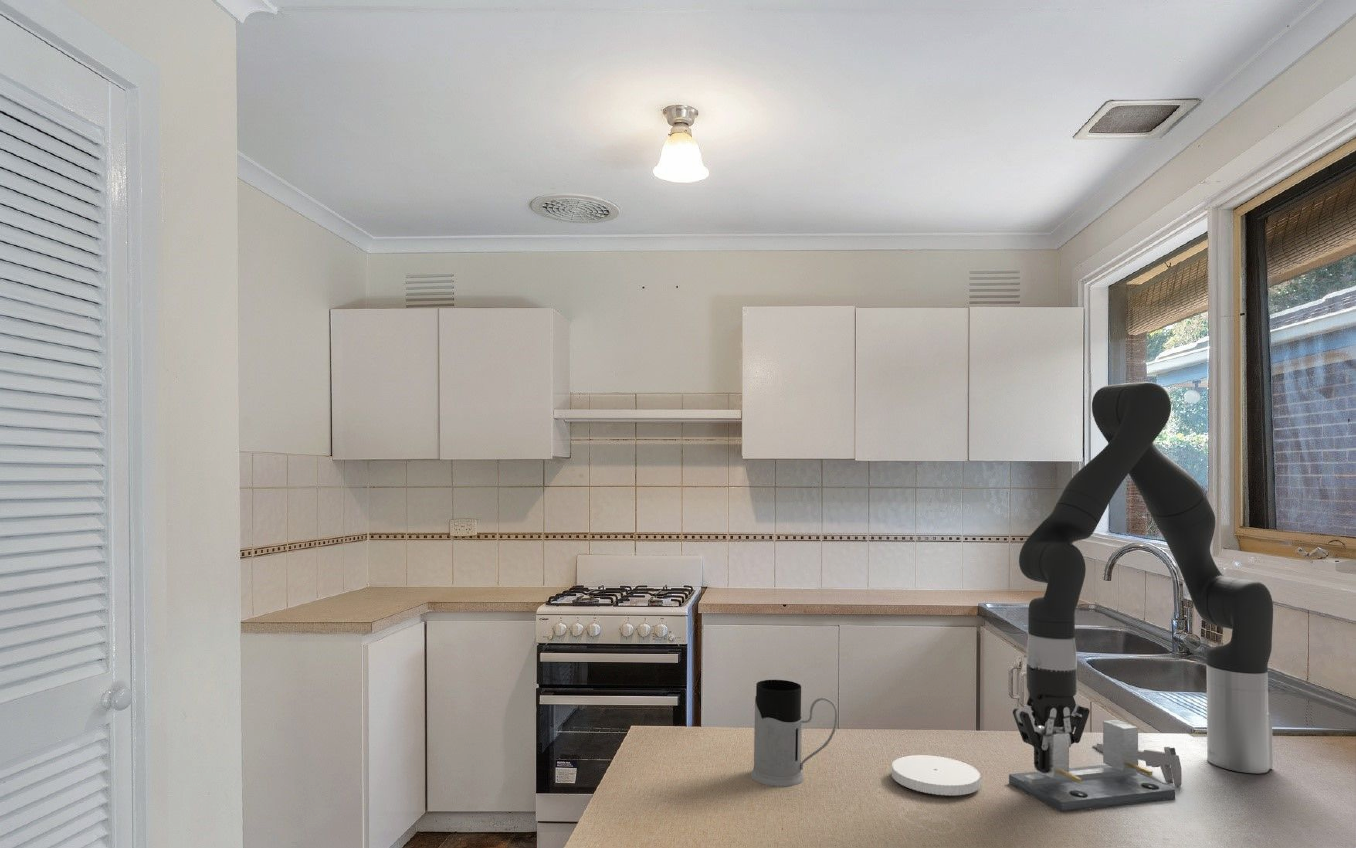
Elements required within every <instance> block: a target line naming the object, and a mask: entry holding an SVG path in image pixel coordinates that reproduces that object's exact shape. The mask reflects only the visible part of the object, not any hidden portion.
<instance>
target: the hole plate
mask: <svg viewBox="0 0 1356 848" xmlns="http://www.w3.org/2000/svg"><path fill="white" fill-rule="evenodd" d="M1069 773H1070V774H1073V775H1075V776H1077V777H1079V778H1081V783H1077V782H1075V781H1073V780H1071V779H1069V778H1059V779H1053V778H1051V777H1049V776H1047V775H1045V774H1043V773H1041V772H1039V771H1037V770H1035V771H1027V772H1019V773H1017V772H1016V773H1009V774H1008V784H1010V786H1013V787H1015V788H1016V787H1017V788H1016V789H1018V790H1020V791H1022V790H1023V791H1022V792H1024V793H1026V794H1027V795H1029V794H1030V796H1031V797H1033V798H1034V799H1036V800H1039V801H1041V802H1042V803H1044V804H1046V805H1047V806H1049V807H1051V808H1053V809H1055V810H1057V811H1058V812H1060V813H1065V812H1066V811H1067V812H1073V811H1083V810H1084V809H1085V810H1091V809H1090V808H1093V809H1100V808H1099V807H1102V808H1109V807H1116V806H1117V807H1118V806H1126V805H1134V804H1137V805H1138V804H1144V803H1152V802H1161V801H1171V800H1176V789H1175V788H1173V787H1170V786H1168V785H1166V784H1164V783H1161V782H1160V781H1157V780H1155V779H1153V778H1150V777H1148V776H1145V775H1144V774H1140V773H1138V771H1128V772H1123V771H1120V770H1118V769H1116V768H1114V767H1111V766H1109V765H1107V764H1102V765H1101V764H1100V765H1089V766H1079V767H1069ZM1085 810H1084V811H1085Z"/></svg>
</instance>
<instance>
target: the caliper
mask: <svg viewBox="0 0 1356 848" xmlns="http://www.w3.org/2000/svg"><path fill="white" fill-rule="evenodd" d="M1091 747H1092V748H1094V749H1096V750H1097V751H1099V752H1101V753H1103V742H1096V744H1094V745H1092V746H1091ZM1163 748H1164V751H1159V750H1153V749H1143V750H1140V749H1138V761H1143V762H1144V763H1145V766H1146V767H1152V768H1158V767H1159V768H1160V771H1161V773H1162V777H1163V778H1164V781H1165V783H1166V784H1168V785H1169V784H1173V787H1181V786H1182V784H1183V780H1182V778H1183V776H1182V773H1183V772H1182V765H1181V761H1180V756H1179V755H1178V754H1177V753H1176V748H1175V747H1170V746H1164V747H1163Z"/></svg>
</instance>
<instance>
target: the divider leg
mask: <svg viewBox="0 0 1356 848" xmlns="http://www.w3.org/2000/svg"><path fill="white" fill-rule="evenodd" d="M1040 726H1041V725H1040ZM1041 727H1042V728H1045V727H1044V726H1041ZM1040 740H1041V736H1040ZM1047 750H1049V772H1048V773H1043V774H1045V775H1047V776H1049V777H1051V778H1053V779H1059V778H1069V779H1071V780H1073V781H1075V782H1077V783H1081V778H1079V777H1077V776H1075V775H1073V774H1070V773H1069V768H1070V748H1069V733H1067V732H1063V731H1061V730H1059V729H1056V728H1054V727H1053V732H1052V734H1051V736H1049V743H1048V748H1047ZM1034 770H1035V771H1038V770H1037V769H1036V767H1035V765H1034ZM1039 772H1040V771H1039ZM1041 773H1042V772H1041Z"/></svg>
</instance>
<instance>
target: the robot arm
mask: <svg viewBox="0 0 1356 848" xmlns="http://www.w3.org/2000/svg"><path fill="white" fill-rule="evenodd" d="M1091 413H1092V417H1093V419H1094V423H1095V425H1096V426H1097V428H1098V430H1099V432H1100V434H1102V436H1103V437H1104V439H1105V440H1106V442H1107V443H1108V444H1107V445H1105V447H1104V448H1103V449H1102V450H1101V451H1100V452H1098V454H1096V456H1094V457H1093V458H1092V459H1091V460H1090V461H1088V462H1087V463H1086V464H1085V465H1084V466H1083V467H1082V468H1081V469H1079V470H1078V471H1076V473H1075V474H1074V475H1073V477H1072V478H1071V479H1070V480H1069V482H1068V483H1067V484H1066V486H1065V488H1064V489H1063V491H1062V493H1061V495H1060V497H1059V498H1058V501H1057V502H1056V505H1055V506H1054V508H1053V509H1052V512H1051V513H1050V514H1049V515H1048V516H1047V517H1046V518H1045V519H1044V520H1043V521H1042V522H1040V524H1039V525H1038V526H1037V528H1036V529H1034V531H1032V533H1031V534H1030V535H1029V536H1028V538H1026V540H1025V541H1024V543H1023V544H1022V546H1021V549H1020V552H1019V555H1018V566H1019V569H1020V571H1021V573H1022V574H1023V575H1024V576H1025V577H1026V578H1027V579H1029V580H1031V581H1034V582H1039V583H1043V584H1046V585H1047V586H1046V589H1045V592H1044V596H1042V597H1035V598H1033V599H1032V600H1031V601H1030V602H1029V605H1028V614H1027V617H1028V619H1027V621H1028V623H1027V624H1028V625H1027V626H1028V627H1027V629H1028V633H1027V643H1026V689H1027V691H1028V699H1027V701H1026V705H1025V706H1024V707H1021V708H1019V709H1018V708H1014V709H1013V710H1012V715H1013V718H1014V721H1015V723H1016V726H1017V728H1018V731H1019V735H1020V737H1021V739H1022V741H1023V743H1026V744H1029V745H1030V746H1032V747H1033V764H1034V765H1035V767H1036V769H1037V770H1038V771H1040V772H1042V773H1048V772H1049V750H1047V748H1048V743H1049V736H1051V734H1052V732H1053V727H1054V728H1056V729H1059V730H1061V731H1063V732H1067V733H1069V749H1070V748H1071V747H1072V745H1073V744H1079V743H1080V742H1081V739H1082V736H1083V733H1084V730H1085V727H1086V725H1087V721H1088V719H1089V716H1090V711H1091V710H1090V708H1088V707H1085V706H1082V705H1079V704H1077V702H1076V700H1075V696H1076V694H1077V692H1078V690H1077V689H1078V687H1077V686H1078V685H1077V682H1078V681H1077V679H1078V678H1077V677H1078V676H1077V673H1078V672H1077V669H1078V668H1077V667H1078V666H1077V659H1078V658H1077V653H1078V652H1077V647H1076V646H1077V645H1076V636H1075V635H1076V632H1075V631H1076V628H1075V627H1076V623H1075V620H1076V617H1075V614H1076V609H1077V607H1078V602H1079V600H1080V595H1081V592H1082V588H1083V585H1084V581H1085V577H1086V572H1087V569H1086V561H1085V558H1084V555H1083V554H1082V552H1081V550H1080V549H1079V548H1078V546H1077V545H1075V544H1073V543H1075V542H1078V541H1082V540H1087V539H1088V538H1090V537H1091V536H1092V535H1093V534H1094V532H1095V531H1096V528H1097V527H1098V525H1099V523H1100V521H1101V519H1102V517H1103V516H1104V513H1105V512H1106V510H1107V508H1108V506H1109V504H1110V502H1111V501H1112V498H1113V497H1114V495H1115V493H1116V492H1117V490H1118V489H1119V488H1120V487H1121V485H1122V484H1123V481H1124V480H1125V479H1126V478H1127V476H1129V477H1130V479H1131V480H1132V482H1133V483H1134V486H1135V487H1136V489H1137V491H1138V493H1139V494H1140V496H1141V497H1142V499H1143V501H1144V504H1145V506H1146V508H1147V510H1148V512H1149V513H1150V514H1149V515H1150V516H1151V518H1152V519H1153V521H1154V523H1155V525H1156V526H1157V528H1158V531H1160V533H1161V535H1162V536H1163V538H1164V540H1165V542H1166V544H1167V546H1168V549H1169V550H1170V552H1171V554H1172V557H1173V558H1174V560H1175V562H1176V564H1177V566H1178V569H1179V571H1180V573H1181V576H1182V578H1183V581H1184V583H1185V586H1186V588H1187V592H1188V595H1189V596H1190V598H1191V602H1192V604H1193V606H1194V608H1195V610H1196V612H1197V614H1198V615H1199V616H1200V618H1201V619H1202V620H1203V621H1205V622H1206V623H1208V624H1210V625H1212V626H1216V627H1218V628H1219V627H1220V628H1224V629H1230V630H1232V631H1231V638H1230V641H1229V642H1228V643H1226V644H1224V645H1216V646H1211V647H1210V648H1208V649H1207V651H1206V658H1205V659H1206V733H1207V734H1206V740H1207V741H1206V745H1207V747H1206V748H1207V750H1206V753H1207V754H1206V755H1207V761H1208V762H1209V763H1211V764H1212V765H1214V766H1217V767H1218V768H1222V769H1226V770H1230V771H1235V772H1239V773H1245V774H1264V773H1267V772H1269V771H1270V769H1273V768H1274V766H1273V763H1274V760H1273V759H1274V757H1273V755H1274V754H1273V750H1274V749H1273V715H1272V714H1271V713H1270V712H1269V682H1268V681H1269V679H1268V678H1269V677H1268V675H1269V673H1268V667H1269V661H1270V658H1271V653H1272V648H1273V647H1272V644H1273V643H1272V642H1273V627H1274V626H1273V625H1274V624H1273V622H1274V605H1273V599H1272V595H1271V592H1270V590H1269V588H1268V587H1267V586H1266V585H1265V584H1263V583H1262V582H1259V581H1258V580H1253V579H1244V578H1237V577H1230V576H1225V575H1224V574H1223V573H1221V571H1220V570H1219V568H1218V566H1217V565H1216V563H1215V561H1214V559H1213V556H1212V554H1211V545H1212V541H1213V539H1214V533H1215V529H1216V516H1215V512H1214V510H1213V507H1212V505H1211V504H1210V502H1209V499H1208V497H1207V496H1206V494H1205V492H1204V490H1203V488H1202V487H1201V485H1200V484H1199V483H1198V481H1197V480H1196V479H1195V478H1194V477H1193V476H1192V475H1191V474H1190V473H1189V472H1188V471H1186V470H1185V469H1184V468H1183V467H1181V466H1180V465H1178V463H1177V462H1175V461H1174V460H1173V459H1171V458H1170V457H1169V456H1168V455H1166V454H1165V453H1163V451H1161V450H1160V449H1159V448H1158V447H1157V446H1156V444H1155V443H1154V441H1155V440H1156V439H1157V438H1158V437H1159V436H1160V434H1161V433H1162V431H1163V430H1164V428H1165V427H1166V425H1167V423H1168V421H1169V419H1170V416H1171V413H1172V401H1171V397H1170V394H1169V393H1168V392H1167V389H1165V388H1164V386H1162V385H1161V384H1159V383H1156V382H1152V381H1151V382H1150V381H1141V382H1139V381H1138V382H1137V381H1135V382H1126V383H1118V384H1117V383H1115V384H1109V385H1106V386H1105V385H1104V386H1102V387H1101V388H1099V389H1098V390H1097V391H1096V392H1095V393H1094V395H1093V397H1092V401H1091ZM1041 726H1044V727H1045V728H1042V727H1041ZM1040 736H1041V740H1040ZM1037 770H1036V771H1037Z"/></svg>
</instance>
